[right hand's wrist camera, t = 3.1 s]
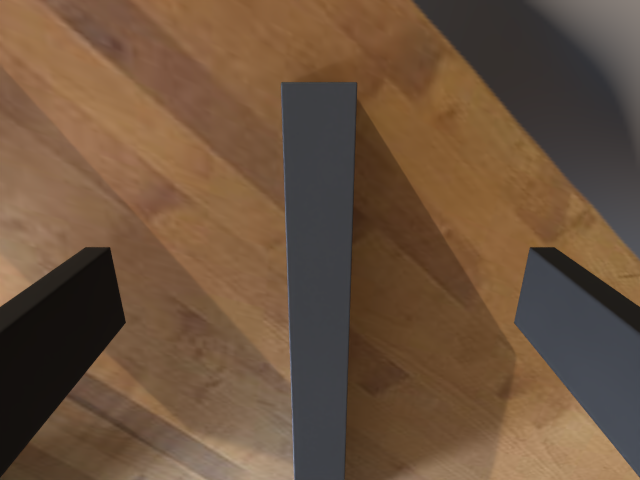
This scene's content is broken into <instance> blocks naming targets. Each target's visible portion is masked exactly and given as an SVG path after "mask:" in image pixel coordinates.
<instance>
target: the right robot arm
mask: <svg viewBox="0 0 640 480" xmlns="http://www.w3.org/2000/svg"><path fill="white" fill-rule="evenodd" d="M125 323H126V321H125V316H124V312H123V307H122V302H121V297H120V293H119V288H118V283H117V278H116V274H115V269H114V264H113V259H112V255H111V250H110V247H85V248H84V249H83V250H81V251H80V252H78V253H77V254H75V255H74V256H73V257H71V258H70V259H68V260H67V261H65V262H64V263H63V264H61V265H60V266H58V267H57V268H55V269H54V270H53V271H51V272H50V273H48V274H47V275H45V276H44V277H43V278H41V279H40V280H38V281H37V282H35V283H34V284H32V285H31V286H30V287H28V288H27V289H25V290H24V291H22V292H21V293H20V294H18V295H17V296H15V297H14V298H12V299H11V300H10V301H8V302H7V303H5V304H4V305H2V306H1V307H0V477H1V476H2V475H3V474H4V472H5V471H6V470H7V469H8V467H9V466H10V465H11V464H12V462H13V461H14V460H15V459H16V458H17V456H18V455H19V454H20V453H21V451H22V450H23V449H24V448H25V446H26V445H27V444H28V443H29V441H30V440H31V439H32V438H33V437H34V435H35V434H36V433H37V432H38V430H39V429H40V428H41V427H42V425H43V424H44V423H45V422H46V421H47V419H48V418H49V417H50V416H51V414H52V413H53V412H54V411H55V409H56V408H57V407H58V406H59V405H60V403H61V402H62V401H63V400H64V398H65V397H66V396H67V395H68V393H69V392H70V391H71V390H72V388H73V387H74V386H75V385H76V384H77V382H78V381H79V380H80V379H81V377H82V376H83V375H84V374H85V372H86V371H87V370H88V369H89V368H90V366H91V365H92V364H93V363H94V361H95V360H96V359H97V358H98V356H99V355H100V354H101V353H102V352H103V350H104V349H105V348H106V347H107V345H108V344H109V343H110V342H111V340H112V339H113V338H114V337H115V335H116V334H117V333H118V332H119V331H120V329H121V328H122V327H123V326H124V324H125ZM514 323H515V324H516V326H517V327H518V328H519V329H520V331H521V332H522V333H523V334H524V335H525V337H526V338H527V339H528V340H529V342H530V343H531V344H532V345H533V347H534V348H535V349H536V350H537V352H538V353H539V354H540V355H541V356H542V358H543V359H544V360H545V361H546V363H547V364H548V365H549V366H550V368H551V369H552V370H553V371H554V372H555V374H556V375H557V376H558V377H559V379H560V380H561V381H562V382H563V384H564V385H565V386H566V387H567V388H568V390H569V391H570V392H571V393H572V395H573V396H574V397H575V398H576V400H577V401H578V402H579V403H580V405H581V406H582V407H583V408H584V409H585V411H586V412H587V413H588V414H589V416H590V417H591V418H592V419H593V421H594V422H595V423H596V424H597V425H598V427H599V428H600V429H601V430H602V432H603V433H604V434H605V435H606V437H607V438H608V439H609V440H610V441H611V443H612V444H613V445H614V446H615V448H616V449H617V450H618V451H619V453H620V454H621V455H622V456H623V458H624V459H625V460H626V461H627V462H628V464H629V465H630V466H631V467H632V469H633V470H634V471H635V472H636V474H637V475H638V476H639V477H640V307H639V306H638V305H636V304H635V303H633V302H632V301H630V300H629V299H628V298H626V297H625V296H623V295H622V294H620V293H619V292H618V291H616V290H615V289H613V288H612V287H610V286H609V285H608V284H606V283H605V282H603V281H602V280H600V279H599V278H597V277H596V276H595V275H593V274H592V273H590V272H589V271H587V270H586V269H585V268H583V267H582V266H580V265H579V264H577V263H576V262H575V261H573V260H572V259H570V258H569V257H567V256H566V255H565V254H563V253H562V252H560V251H559V250H557V249H556V248H555V247H530V250H529V255H528V259H527V264H526V269H525V274H524V278H523V283H522V288H521V293H520V297H519V302H518V307H517V312H516V316H515V321H514Z"/></svg>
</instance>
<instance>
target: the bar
mask: <svg viewBox="0 0 640 480" xmlns="http://www.w3.org/2000/svg"><path fill="white" fill-rule="evenodd" d="M281 99H282V129H283V159H284V189H285V218H286V248H287V278H288V308H289V338H290V368H291V398H292V427H293V457H294V480H344V479H345V448H346V417H347V386H348V354H349V323H350V292H351V261H352V229H353V198H354V167H355V135H356V104H357V83H356V82H282V83H281Z"/></svg>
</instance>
